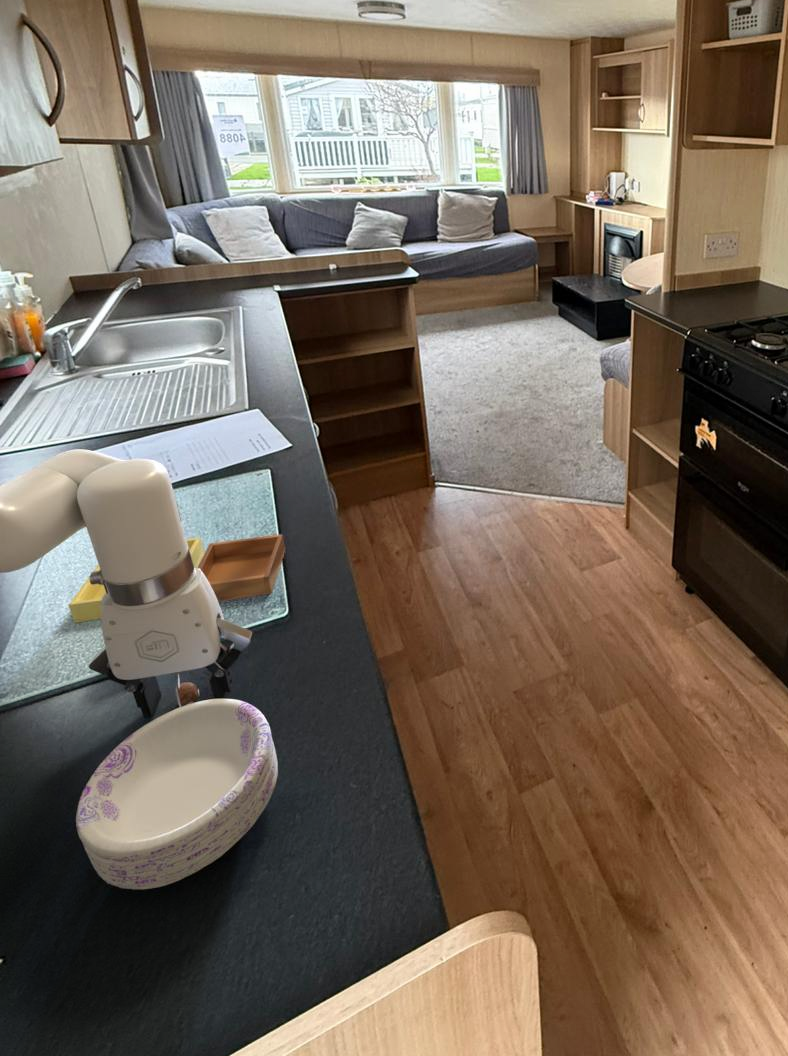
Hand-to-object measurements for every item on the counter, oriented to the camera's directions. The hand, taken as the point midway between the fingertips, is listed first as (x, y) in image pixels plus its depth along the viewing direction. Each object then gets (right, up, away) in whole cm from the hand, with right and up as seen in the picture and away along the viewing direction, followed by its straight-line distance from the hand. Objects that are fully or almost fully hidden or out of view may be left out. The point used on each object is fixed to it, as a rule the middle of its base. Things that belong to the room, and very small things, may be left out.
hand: (188, 700), depth 74 cm
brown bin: (-6, +7, +21) cm, 23 cm away
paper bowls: (+9, -6, -12) cm, 16 cm away
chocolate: (0, -1, 0) cm, 1 cm away
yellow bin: (-18, +7, +19) cm, 27 cm away
